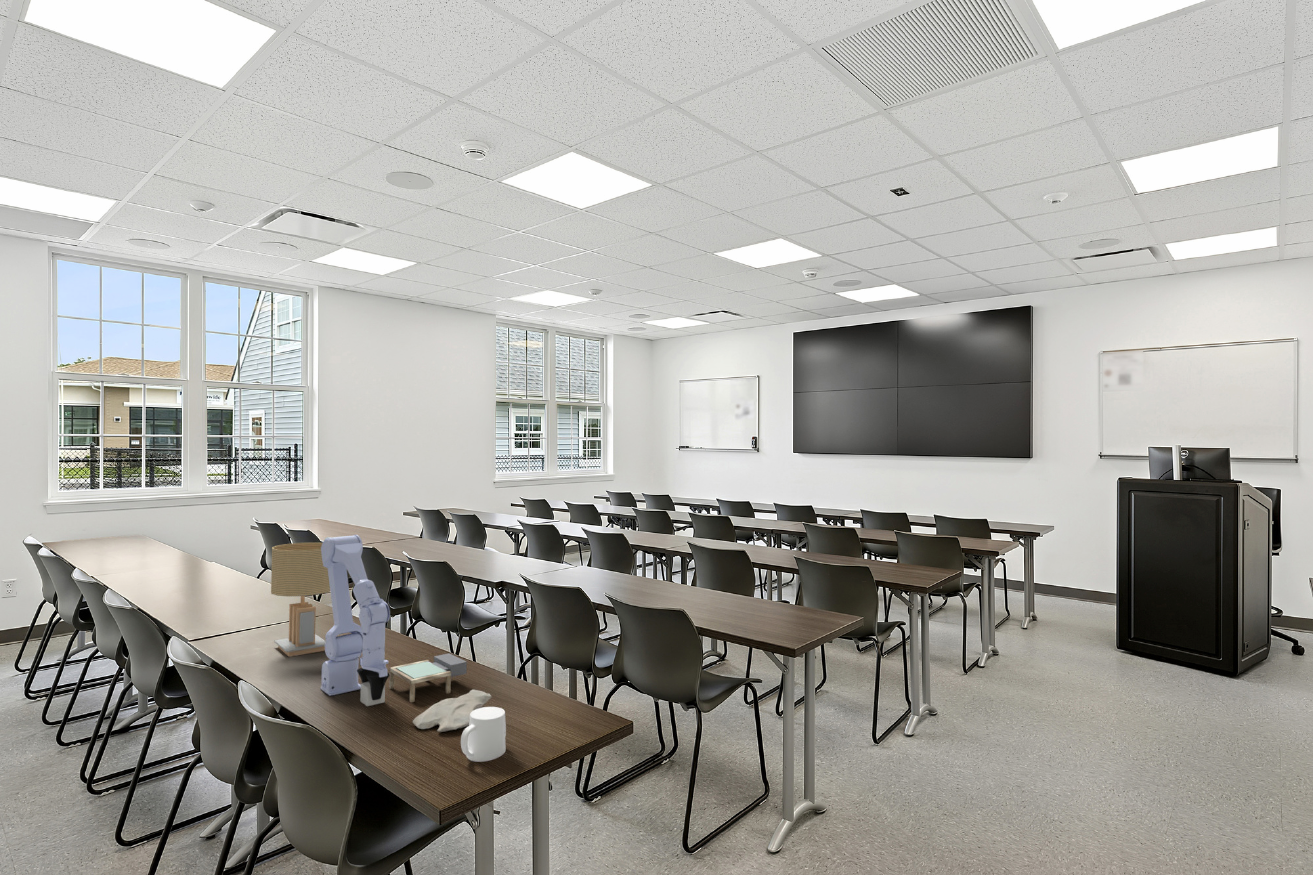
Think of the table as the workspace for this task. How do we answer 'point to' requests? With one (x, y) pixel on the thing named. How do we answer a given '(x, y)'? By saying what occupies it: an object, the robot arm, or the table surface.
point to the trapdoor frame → (417, 679)
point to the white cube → (367, 697)
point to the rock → (452, 711)
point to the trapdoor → (436, 667)
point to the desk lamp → (299, 593)
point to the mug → (485, 734)
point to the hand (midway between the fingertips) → (372, 696)
